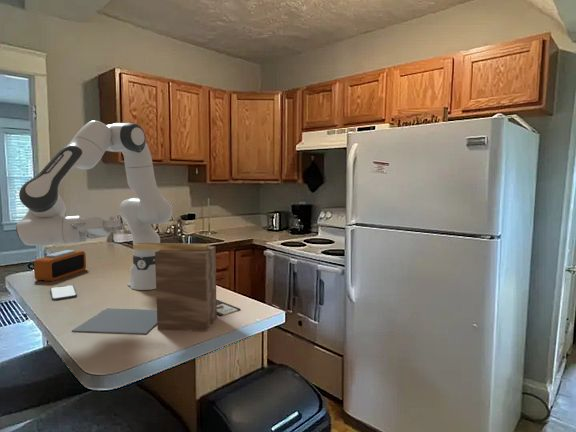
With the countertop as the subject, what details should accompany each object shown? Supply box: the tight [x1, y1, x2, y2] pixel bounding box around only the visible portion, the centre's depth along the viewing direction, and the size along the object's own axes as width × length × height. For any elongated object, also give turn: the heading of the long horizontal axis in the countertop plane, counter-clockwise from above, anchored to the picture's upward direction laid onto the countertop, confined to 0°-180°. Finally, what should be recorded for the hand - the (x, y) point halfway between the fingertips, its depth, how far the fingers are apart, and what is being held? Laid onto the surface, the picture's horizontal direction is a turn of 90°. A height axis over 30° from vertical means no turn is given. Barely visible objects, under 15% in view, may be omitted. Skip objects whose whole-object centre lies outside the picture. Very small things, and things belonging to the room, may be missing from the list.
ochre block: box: [132, 242, 210, 251], centre depth 124 cm, size 4×24×2 cm, turn 86°
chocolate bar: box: [216, 298, 241, 317], centre depth 142 cm, size 9×1×18 cm
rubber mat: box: [71, 308, 157, 335], centre depth 128 cm, size 20×24×1 cm
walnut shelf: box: [155, 245, 218, 332], centre depth 125 cm, size 12×16×25 cm
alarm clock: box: [33, 249, 87, 282], centre depth 186 cm, size 24×8×11 cm, turn 170°
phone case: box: [49, 284, 78, 301], centre depth 157 cm, size 9×2×16 cm
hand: (121, 225), depth 129 cm, fingers open, 8 cm apart
